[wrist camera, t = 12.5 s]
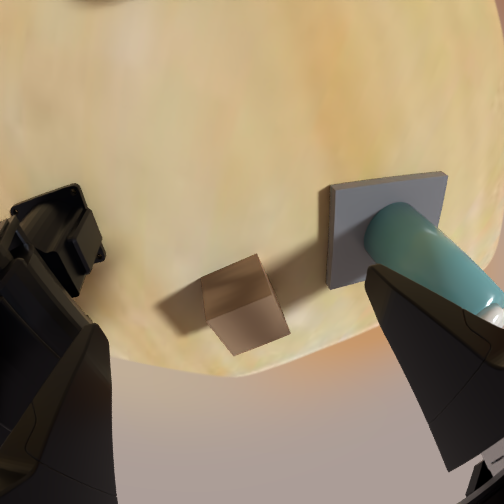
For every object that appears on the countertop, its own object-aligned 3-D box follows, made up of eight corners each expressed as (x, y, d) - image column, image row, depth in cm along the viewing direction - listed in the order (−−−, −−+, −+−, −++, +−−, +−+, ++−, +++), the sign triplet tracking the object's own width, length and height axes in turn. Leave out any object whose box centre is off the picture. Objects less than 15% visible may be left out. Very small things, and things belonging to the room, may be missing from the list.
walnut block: (224, 313, 28) (233, 356, 24) (200, 276, 25) (206, 321, 21) (274, 292, 28) (290, 333, 24) (256, 252, 25) (272, 294, 21)
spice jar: (352, 255, 26) (435, 375, 15) (382, 194, 23) (495, 303, 12) (398, 262, 28) (475, 362, 17) (427, 210, 25) (523, 303, 14)
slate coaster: (325, 282, 28) (329, 289, 27) (330, 185, 22) (335, 190, 22) (423, 256, 29) (428, 261, 29) (441, 171, 24) (448, 175, 23)
